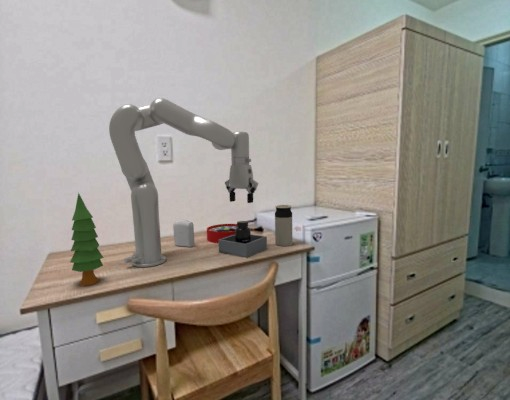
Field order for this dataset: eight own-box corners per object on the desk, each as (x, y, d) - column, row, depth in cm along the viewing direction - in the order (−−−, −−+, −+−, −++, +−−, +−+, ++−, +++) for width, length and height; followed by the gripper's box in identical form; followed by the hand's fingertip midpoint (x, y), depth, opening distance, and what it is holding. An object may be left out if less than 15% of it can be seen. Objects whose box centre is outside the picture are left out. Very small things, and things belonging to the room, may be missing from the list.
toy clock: (251, 229, 147) (211, 233, 141) (251, 241, 148) (211, 245, 141) (239, 222, 166) (203, 225, 159) (239, 232, 167) (203, 236, 160)
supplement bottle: (245, 251, 127) (244, 223, 125) (232, 250, 130) (231, 222, 129) (253, 247, 133) (253, 220, 131) (240, 246, 136) (239, 219, 134)
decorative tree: (71, 289, 94) (61, 194, 91) (74, 279, 103) (65, 191, 99) (105, 283, 98) (97, 192, 95) (106, 274, 107) (98, 190, 103)
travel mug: (291, 246, 136) (291, 207, 133) (274, 246, 137) (273, 207, 135) (293, 242, 143) (292, 204, 141) (276, 241, 145) (275, 204, 143)
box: (246, 257, 121) (245, 244, 121) (218, 252, 130) (218, 239, 129) (266, 248, 133) (266, 236, 133) (240, 244, 142) (240, 232, 141)
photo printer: (173, 245, 143) (171, 220, 141) (179, 243, 146) (177, 218, 145) (190, 247, 138) (188, 221, 136) (196, 245, 142) (194, 219, 140)
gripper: (262, 161, 125) (262, 202, 127) (230, 162, 135) (231, 200, 137) (251, 161, 119) (252, 204, 121) (219, 162, 129) (220, 201, 131)
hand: (241, 202), depth 129 cm, fingers open, 9 cm apart
